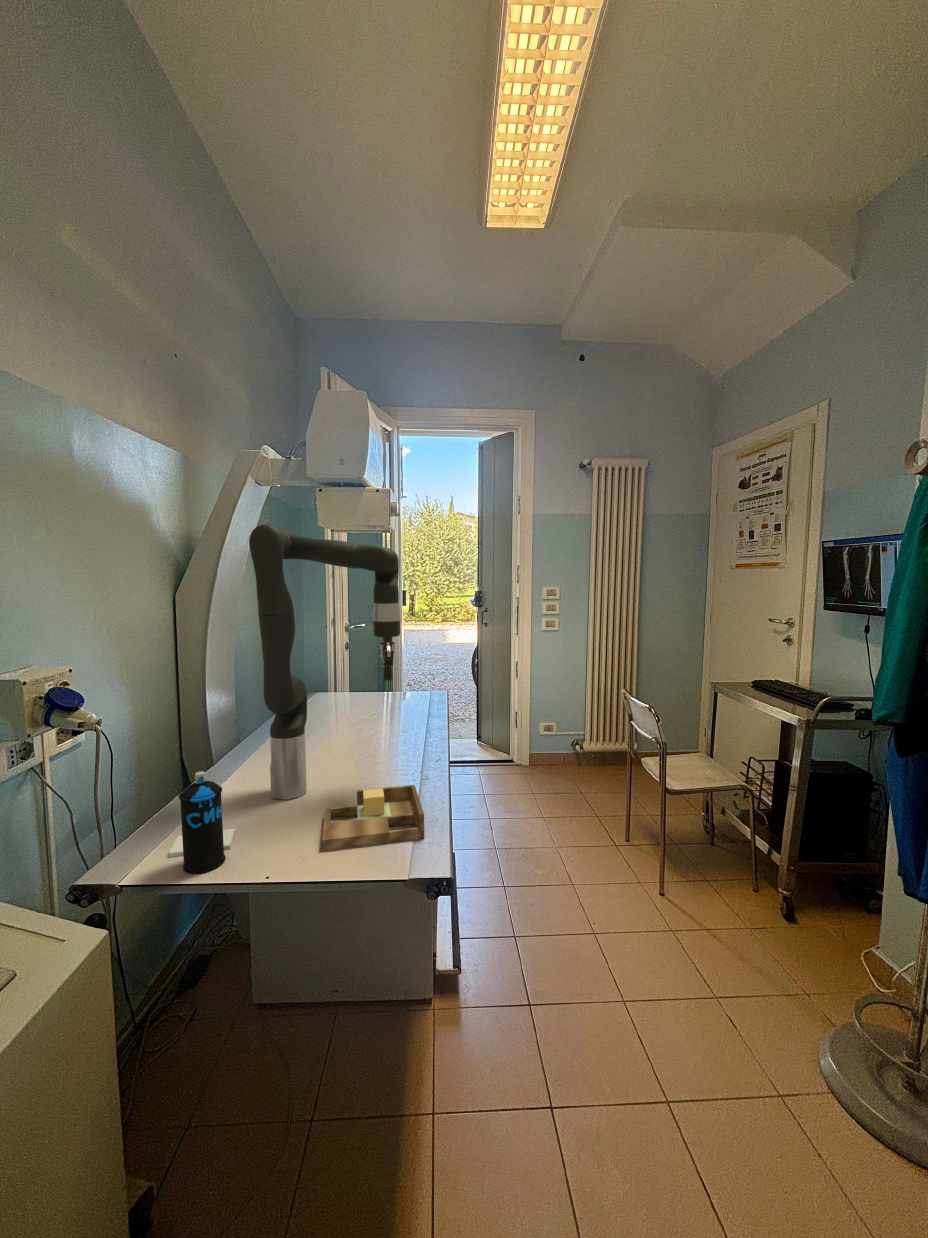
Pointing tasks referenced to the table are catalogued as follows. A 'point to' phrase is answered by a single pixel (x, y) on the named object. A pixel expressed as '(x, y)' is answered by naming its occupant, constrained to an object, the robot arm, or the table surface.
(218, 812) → the aerosol can
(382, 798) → the block
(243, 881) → the table surface
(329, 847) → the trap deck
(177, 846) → the external hard drive
